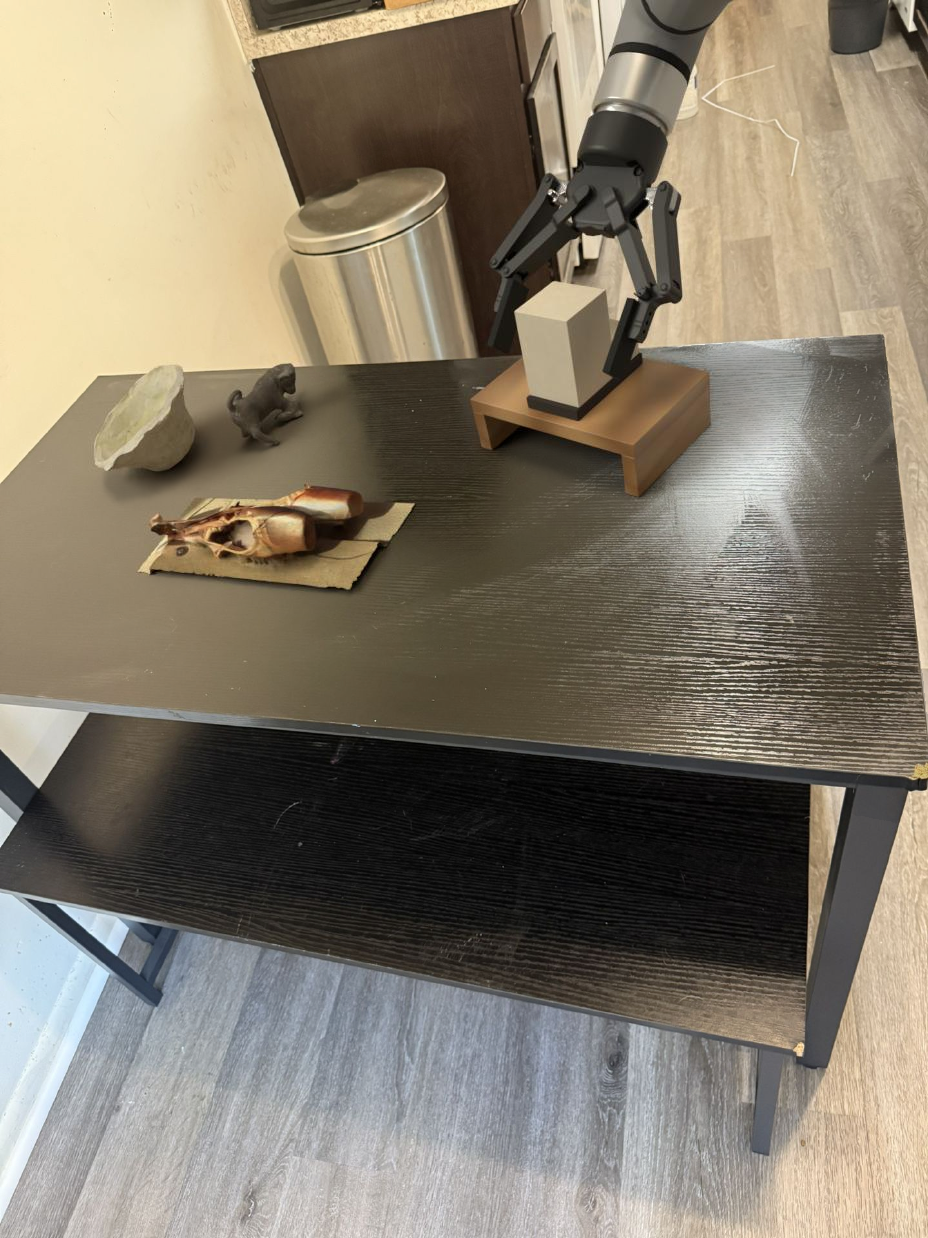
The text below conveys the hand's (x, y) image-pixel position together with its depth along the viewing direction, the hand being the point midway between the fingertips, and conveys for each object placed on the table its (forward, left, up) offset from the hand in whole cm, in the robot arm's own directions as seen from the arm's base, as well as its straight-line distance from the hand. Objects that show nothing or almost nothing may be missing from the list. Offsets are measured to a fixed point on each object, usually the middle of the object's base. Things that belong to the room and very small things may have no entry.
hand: (552, 363), depth 81 cm
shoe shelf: (-1, -4, -11) cm, 12 cm away
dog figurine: (+39, -3, -11) cm, 40 cm away
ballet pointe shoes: (+27, +17, -11) cm, 34 cm away
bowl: (+51, +6, -11) cm, 52 cm away
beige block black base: (-1, -4, -5) cm, 7 cm away
